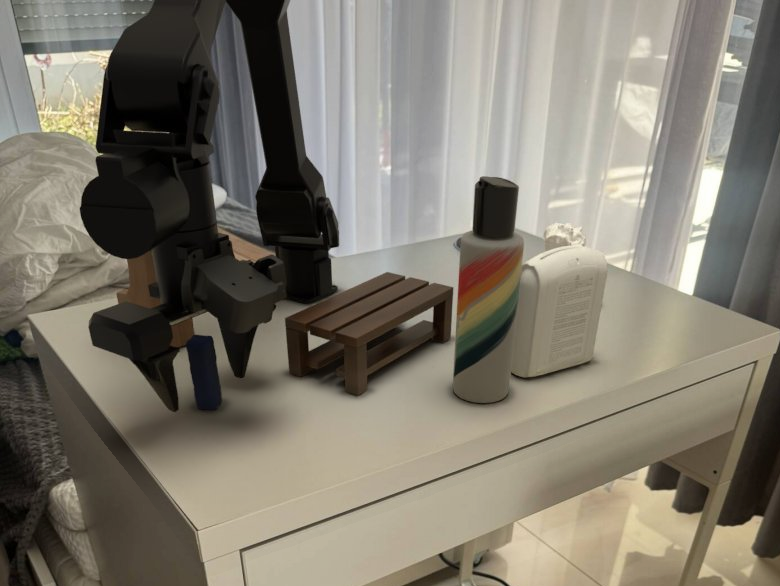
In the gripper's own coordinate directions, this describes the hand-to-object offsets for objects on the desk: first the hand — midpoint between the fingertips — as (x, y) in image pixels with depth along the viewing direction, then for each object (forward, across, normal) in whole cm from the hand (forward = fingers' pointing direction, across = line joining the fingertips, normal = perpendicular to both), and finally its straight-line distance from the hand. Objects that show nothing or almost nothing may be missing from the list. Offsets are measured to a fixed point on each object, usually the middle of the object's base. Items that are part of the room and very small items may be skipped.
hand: (207, 393), depth 74 cm
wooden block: (+2, +9, +17) cm, 19 cm away
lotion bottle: (+2, +18, -20) cm, 27 cm away
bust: (+2, +44, -17) cm, 47 cm away
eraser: (+2, 0, 0) cm, 2 cm away
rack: (+1, +19, -6) cm, 20 cm away
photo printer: (+2, +28, -23) cm, 36 cm away
